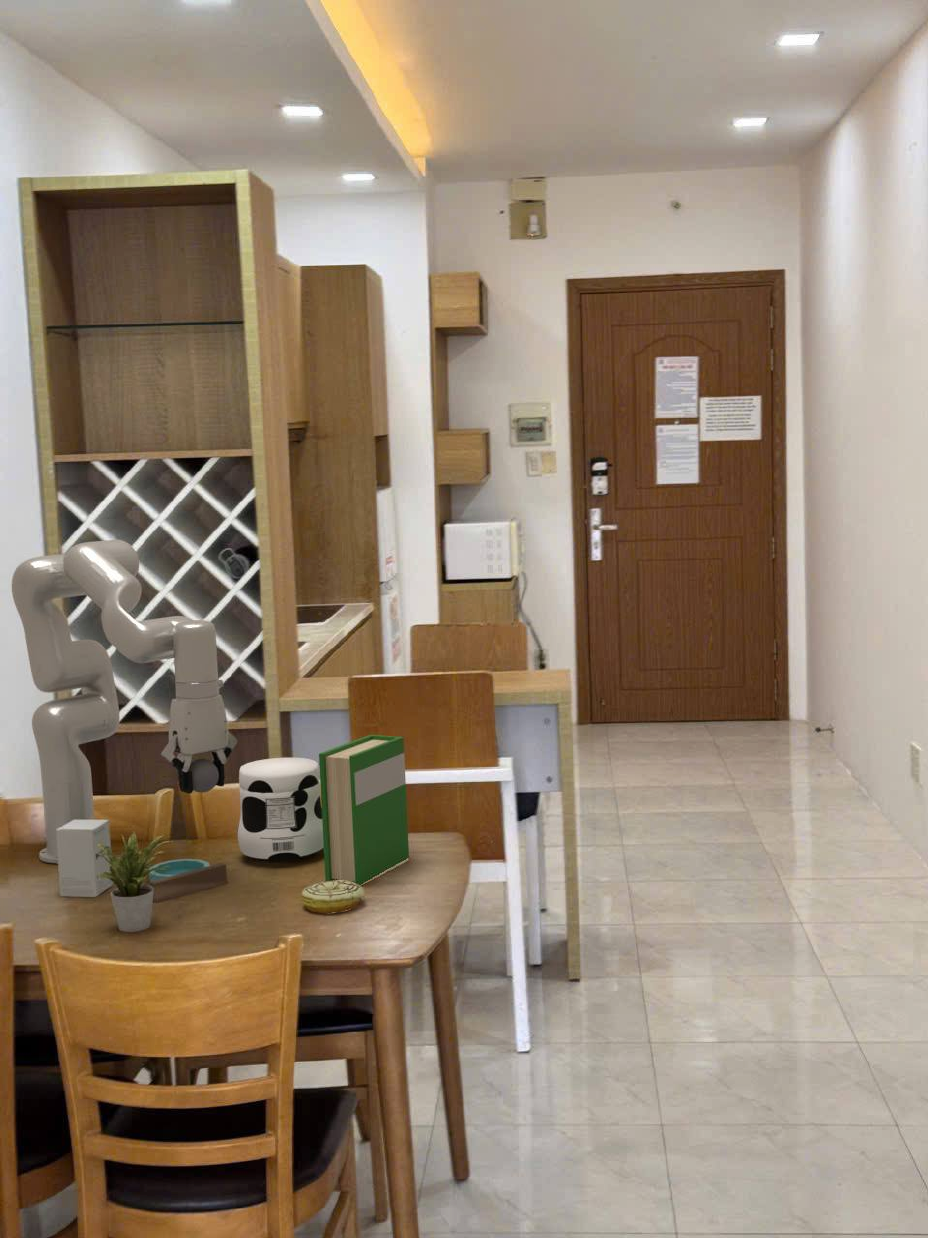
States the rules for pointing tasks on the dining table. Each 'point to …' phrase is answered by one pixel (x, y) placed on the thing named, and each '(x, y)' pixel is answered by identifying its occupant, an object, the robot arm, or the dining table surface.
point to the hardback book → (364, 808)
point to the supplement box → (83, 857)
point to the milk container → (280, 810)
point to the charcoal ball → (203, 775)
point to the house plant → (132, 884)
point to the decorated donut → (332, 896)
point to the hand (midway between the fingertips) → (202, 787)
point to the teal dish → (176, 868)
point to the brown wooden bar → (189, 882)
